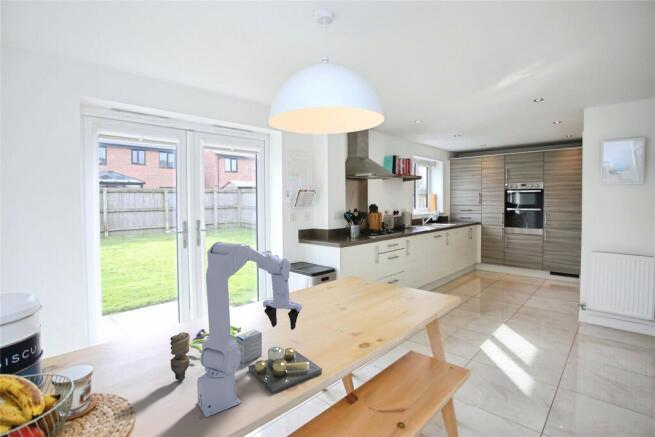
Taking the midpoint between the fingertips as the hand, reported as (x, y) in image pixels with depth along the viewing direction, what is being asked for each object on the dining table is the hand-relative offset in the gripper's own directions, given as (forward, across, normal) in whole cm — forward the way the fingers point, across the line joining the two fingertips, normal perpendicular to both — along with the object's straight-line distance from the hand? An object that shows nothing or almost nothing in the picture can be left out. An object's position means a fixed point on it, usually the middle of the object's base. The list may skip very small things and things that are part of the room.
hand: (283, 327), depth 116 cm
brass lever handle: (+7, -9, +13) cm, 17 cm away
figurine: (+10, +28, +2) cm, 30 cm away
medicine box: (+10, +10, +8) cm, 16 cm away
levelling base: (+9, -6, +11) cm, 16 cm away
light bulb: (+7, +21, +28) cm, 36 cm away
